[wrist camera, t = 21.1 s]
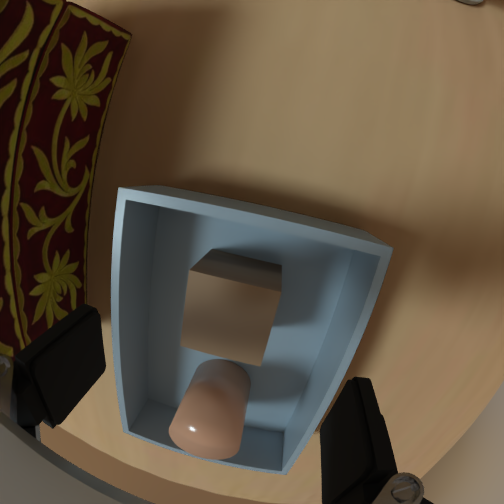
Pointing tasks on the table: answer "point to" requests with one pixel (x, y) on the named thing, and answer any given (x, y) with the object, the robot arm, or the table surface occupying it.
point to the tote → (283, 329)
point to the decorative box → (49, 156)
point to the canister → (212, 411)
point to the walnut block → (231, 306)
